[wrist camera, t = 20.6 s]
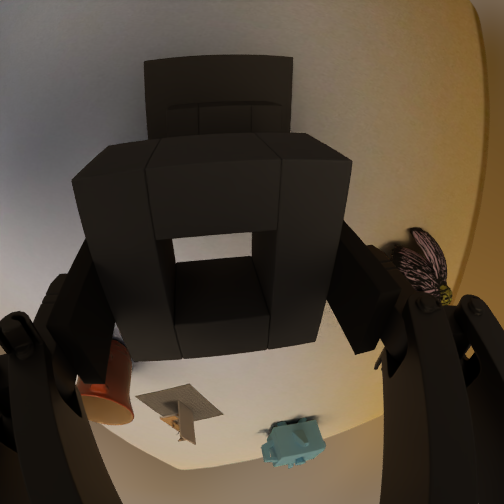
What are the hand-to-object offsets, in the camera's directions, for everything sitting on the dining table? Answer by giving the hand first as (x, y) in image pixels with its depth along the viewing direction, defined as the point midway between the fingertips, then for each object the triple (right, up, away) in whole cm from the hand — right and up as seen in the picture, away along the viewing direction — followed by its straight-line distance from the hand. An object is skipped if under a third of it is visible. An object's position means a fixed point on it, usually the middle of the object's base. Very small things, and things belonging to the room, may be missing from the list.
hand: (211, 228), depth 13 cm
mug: (-18, -14, +23) cm, 33 cm away
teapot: (+11, -45, +51) cm, 69 cm away
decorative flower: (+22, -3, +25) cm, 34 cm away
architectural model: (-12, -30, +36) cm, 49 cm away
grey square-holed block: (0, 0, 0) cm, 0 cm away
